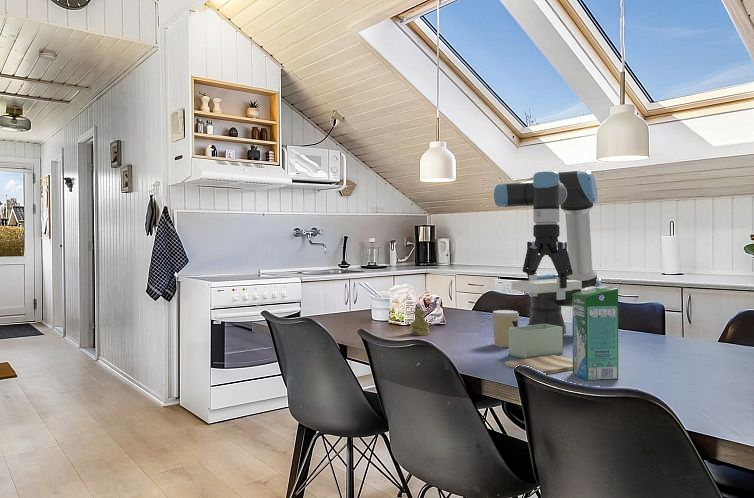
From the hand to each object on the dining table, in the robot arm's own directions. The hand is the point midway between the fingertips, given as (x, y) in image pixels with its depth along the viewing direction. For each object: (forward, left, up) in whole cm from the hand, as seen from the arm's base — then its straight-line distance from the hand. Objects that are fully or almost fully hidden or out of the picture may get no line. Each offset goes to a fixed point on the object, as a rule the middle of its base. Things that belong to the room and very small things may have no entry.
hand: (546, 297), depth 175 cm
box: (-9, -14, -21) cm, 27 cm away
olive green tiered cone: (+1, -68, -21) cm, 71 cm away
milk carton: (-2, +16, -21) cm, 26 cm away
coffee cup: (-12, -32, -21) cm, 40 cm away
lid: (0, 0, +3) cm, 3 cm away
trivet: (0, 0, -21) cm, 21 cm away
